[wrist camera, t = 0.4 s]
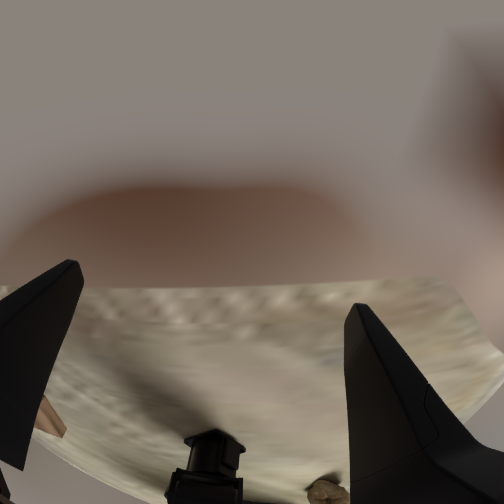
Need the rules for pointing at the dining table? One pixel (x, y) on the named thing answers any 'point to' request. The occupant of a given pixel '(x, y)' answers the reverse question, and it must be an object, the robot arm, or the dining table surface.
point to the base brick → (49, 420)
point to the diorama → (249, 503)
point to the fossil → (327, 493)
